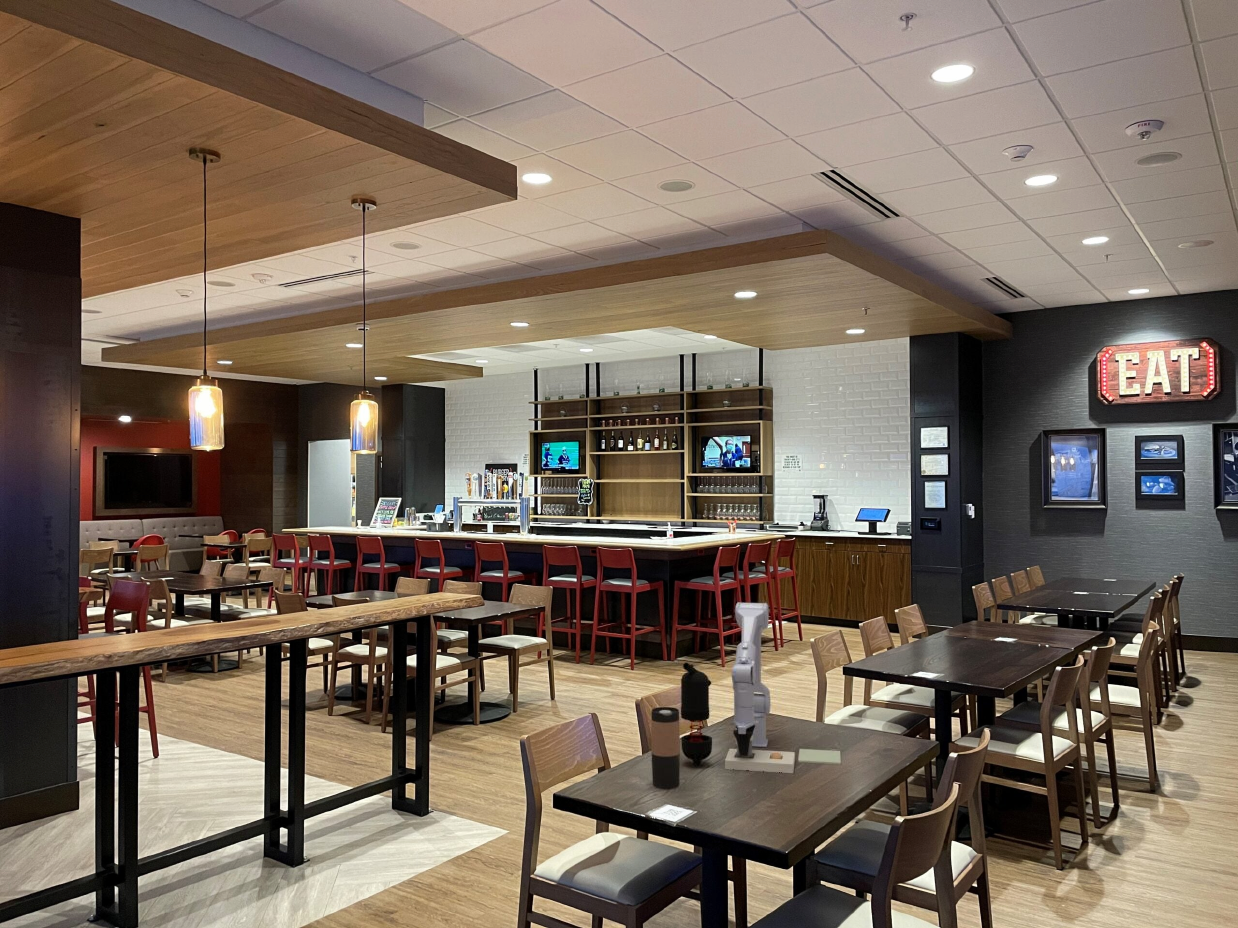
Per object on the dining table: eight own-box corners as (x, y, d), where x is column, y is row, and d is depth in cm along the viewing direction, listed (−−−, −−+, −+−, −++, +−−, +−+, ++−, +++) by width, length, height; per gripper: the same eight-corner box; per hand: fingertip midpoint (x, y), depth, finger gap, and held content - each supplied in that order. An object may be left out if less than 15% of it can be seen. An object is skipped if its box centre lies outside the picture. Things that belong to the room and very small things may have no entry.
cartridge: (735, 765, 259) (735, 737, 260) (737, 761, 264) (736, 733, 264) (752, 766, 258) (752, 738, 259) (753, 761, 263) (753, 734, 263)
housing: (725, 768, 257) (725, 760, 257) (729, 756, 268) (729, 748, 268) (793, 773, 252) (793, 764, 252) (794, 760, 264) (794, 752, 264)
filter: (700, 771, 254) (699, 664, 255) (673, 766, 260) (672, 661, 260) (724, 760, 265) (723, 657, 266) (697, 755, 270) (696, 654, 271)
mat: (798, 761, 263) (798, 760, 263) (799, 750, 274) (799, 748, 274) (840, 764, 260) (840, 762, 260) (840, 752, 272) (840, 750, 272)
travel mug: (663, 778, 249) (662, 705, 249) (685, 783, 244) (685, 709, 244) (646, 785, 243) (645, 710, 243) (669, 791, 238) (668, 714, 238)
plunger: (771, 764, 258) (770, 755, 258) (771, 761, 261) (771, 752, 261) (780, 764, 258) (780, 755, 258) (781, 761, 260) (781, 753, 260)
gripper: (756, 711, 254) (756, 760, 253) (759, 700, 268) (760, 746, 268) (730, 710, 255) (731, 759, 255) (736, 699, 270) (736, 745, 269)
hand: (744, 752), depth 261 cm, fingers closed on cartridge, 5 cm apart
